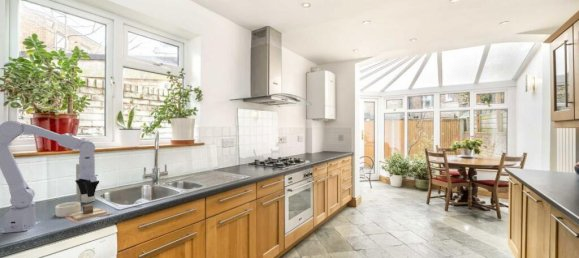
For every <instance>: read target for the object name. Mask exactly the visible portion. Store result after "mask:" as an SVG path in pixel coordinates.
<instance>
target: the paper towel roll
mask: <svg viewBox="0 0 579 258" xmlns="http://www.w3.org/2000/svg"><path fill="white" fill-rule="evenodd" d="M78 175H79V163H76V164H75V178H76V179H75V180H79V179H78ZM75 183H76V182H75ZM75 186H76V187H75V188H76V189H75V190H76V192H75V193H76V194H75V195H76V202H80V203H81V204H84V203H85V204H89V203H93V202H96V193H95V194H94V196H92V197H88V195H87V194H83V195H81V193H80V189H79V187H78V185H77V183H76V184H75Z"/></svg>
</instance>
